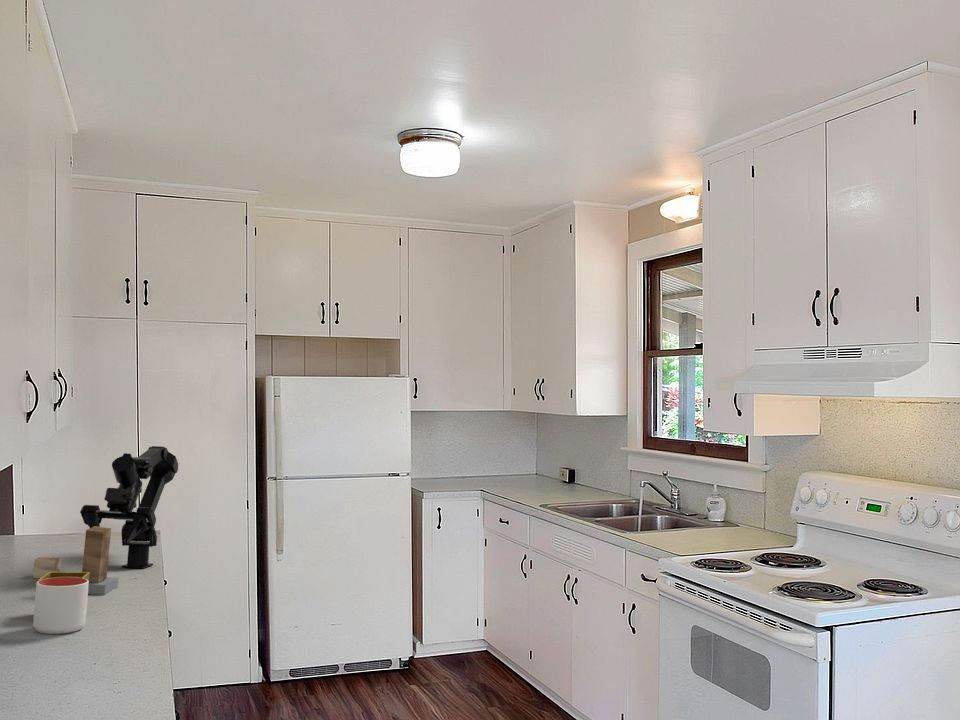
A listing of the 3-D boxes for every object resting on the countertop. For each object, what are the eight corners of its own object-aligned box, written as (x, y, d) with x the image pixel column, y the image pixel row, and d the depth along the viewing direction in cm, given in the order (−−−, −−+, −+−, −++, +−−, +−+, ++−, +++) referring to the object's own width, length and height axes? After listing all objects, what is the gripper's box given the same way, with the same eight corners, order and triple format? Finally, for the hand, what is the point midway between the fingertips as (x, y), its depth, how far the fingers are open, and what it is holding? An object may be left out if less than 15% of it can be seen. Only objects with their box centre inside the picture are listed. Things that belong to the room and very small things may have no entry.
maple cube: (39, 575, 235) (41, 556, 235) (59, 575, 235) (60, 557, 235) (32, 578, 230) (34, 559, 230) (52, 579, 230) (54, 560, 231)
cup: (21, 630, 180) (25, 581, 181) (64, 621, 189) (68, 574, 190) (53, 638, 176) (57, 588, 176) (95, 628, 184) (99, 581, 185)
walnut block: (89, 576, 221) (94, 526, 221) (106, 578, 221) (111, 528, 221) (81, 581, 217) (86, 529, 217) (98, 583, 217) (103, 531, 217)
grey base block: (82, 588, 224) (83, 576, 224) (117, 589, 224) (118, 577, 224) (67, 595, 215) (68, 583, 215) (104, 597, 215) (105, 585, 215)
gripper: (85, 474, 234) (64, 521, 222) (155, 478, 235) (138, 524, 223) (95, 500, 241) (75, 547, 230) (162, 503, 242) (146, 550, 231)
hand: (108, 541), depth 228 cm, fingers open, 9 cm apart
